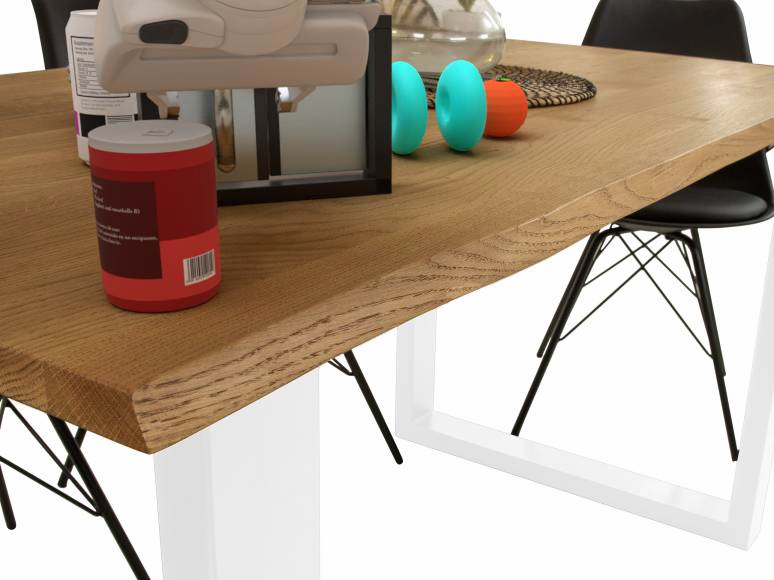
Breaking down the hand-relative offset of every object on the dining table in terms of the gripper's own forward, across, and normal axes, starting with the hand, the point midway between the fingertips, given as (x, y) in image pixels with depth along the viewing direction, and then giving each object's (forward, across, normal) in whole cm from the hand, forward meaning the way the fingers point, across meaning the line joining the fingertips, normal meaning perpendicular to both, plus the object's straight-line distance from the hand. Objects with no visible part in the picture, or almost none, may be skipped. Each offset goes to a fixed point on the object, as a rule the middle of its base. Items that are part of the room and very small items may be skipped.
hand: (227, 108), depth 82 cm
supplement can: (+25, +7, -12) cm, 28 cm away
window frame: (+11, -5, +2) cm, 12 cm away
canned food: (-5, +8, +19) cm, 21 cm away
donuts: (+22, -26, -8) cm, 35 cm away
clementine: (+26, -37, -13) cm, 47 cm away
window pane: (+8, 0, +3) cm, 8 cm away
